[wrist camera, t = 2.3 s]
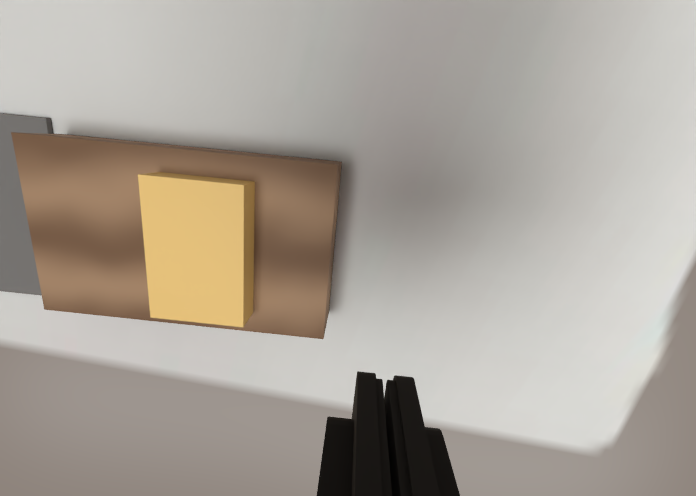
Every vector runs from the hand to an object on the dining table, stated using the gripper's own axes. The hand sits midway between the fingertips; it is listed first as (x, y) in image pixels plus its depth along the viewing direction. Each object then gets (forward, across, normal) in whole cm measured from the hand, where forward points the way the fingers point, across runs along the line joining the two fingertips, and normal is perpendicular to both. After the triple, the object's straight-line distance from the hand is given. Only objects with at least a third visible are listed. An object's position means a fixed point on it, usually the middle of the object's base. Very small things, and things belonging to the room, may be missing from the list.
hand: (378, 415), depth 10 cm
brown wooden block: (+16, +13, -1) cm, 21 cm away
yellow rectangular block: (+12, +11, -1) cm, 16 cm away
